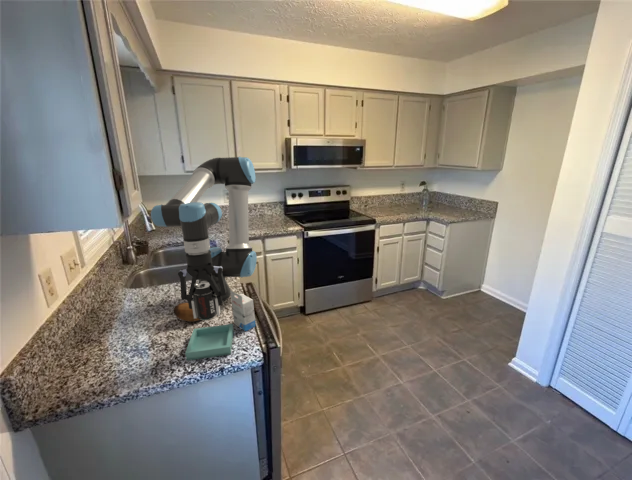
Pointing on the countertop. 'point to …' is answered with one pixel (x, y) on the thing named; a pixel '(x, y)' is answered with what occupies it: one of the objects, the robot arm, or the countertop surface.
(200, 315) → the beverage can
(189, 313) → the potato
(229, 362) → the countertop surface
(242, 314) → the ink box
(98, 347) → the countertop surface
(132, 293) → the countertop surface
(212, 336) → the collection tray
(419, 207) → the countertop surface
